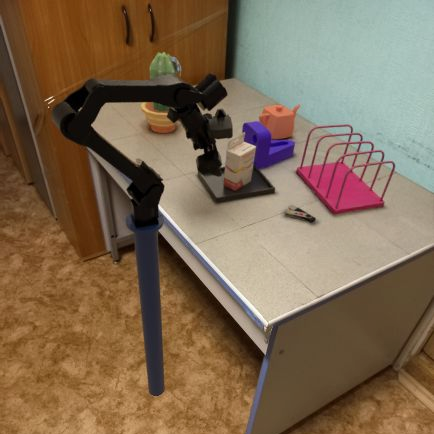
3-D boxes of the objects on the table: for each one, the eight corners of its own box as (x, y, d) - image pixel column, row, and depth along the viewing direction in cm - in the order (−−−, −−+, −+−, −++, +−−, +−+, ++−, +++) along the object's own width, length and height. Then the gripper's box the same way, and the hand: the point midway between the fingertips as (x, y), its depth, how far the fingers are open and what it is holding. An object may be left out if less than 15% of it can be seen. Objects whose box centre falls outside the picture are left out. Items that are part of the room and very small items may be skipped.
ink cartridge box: (235, 192, 128) (240, 146, 117) (222, 185, 130) (226, 140, 119) (251, 181, 132) (258, 136, 122) (239, 175, 134) (244, 130, 124)
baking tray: (216, 203, 124) (216, 198, 122) (197, 175, 134) (197, 170, 133) (274, 193, 130) (275, 188, 128) (252, 167, 140) (252, 162, 139)
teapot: (248, 130, 159) (252, 102, 152) (287, 123, 166) (292, 96, 158) (264, 144, 152) (269, 115, 145) (305, 136, 159) (311, 108, 151)
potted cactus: (178, 139, 150) (178, 63, 133) (136, 133, 151) (131, 57, 134) (187, 121, 161) (188, 49, 144) (148, 116, 162) (144, 43, 145)
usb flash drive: (316, 220, 120) (316, 217, 120) (304, 227, 118) (305, 224, 117) (292, 207, 125) (293, 204, 124) (281, 213, 122) (281, 210, 121)
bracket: (254, 169, 139) (259, 135, 131) (239, 154, 146) (243, 120, 137) (300, 160, 145) (307, 127, 137) (283, 146, 152) (289, 113, 143)
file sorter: (341, 166, 144) (354, 121, 133) (383, 207, 128) (403, 159, 117) (295, 171, 140) (305, 125, 128) (333, 215, 123) (349, 166, 112)
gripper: (228, 134, 98) (250, 177, 111) (218, 85, 107) (239, 130, 120) (185, 153, 101) (212, 192, 114) (179, 103, 111) (204, 145, 123)
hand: (218, 164), depth 118 cm, fingers open, 9 cm apart
